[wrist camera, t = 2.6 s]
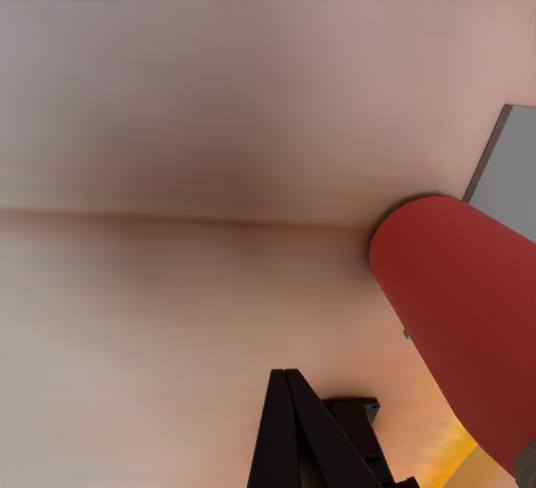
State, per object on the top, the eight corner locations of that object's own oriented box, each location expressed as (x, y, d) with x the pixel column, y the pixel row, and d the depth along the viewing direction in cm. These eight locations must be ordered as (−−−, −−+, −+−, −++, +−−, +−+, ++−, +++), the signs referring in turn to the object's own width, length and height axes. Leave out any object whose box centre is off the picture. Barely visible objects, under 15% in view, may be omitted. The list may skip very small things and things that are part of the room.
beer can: (386, 184, 16) (615, 372, 6) (496, 200, 17) (886, 397, 6) (352, 280, 19) (459, 516, 9) (445, 291, 20) (650, 524, 9)
